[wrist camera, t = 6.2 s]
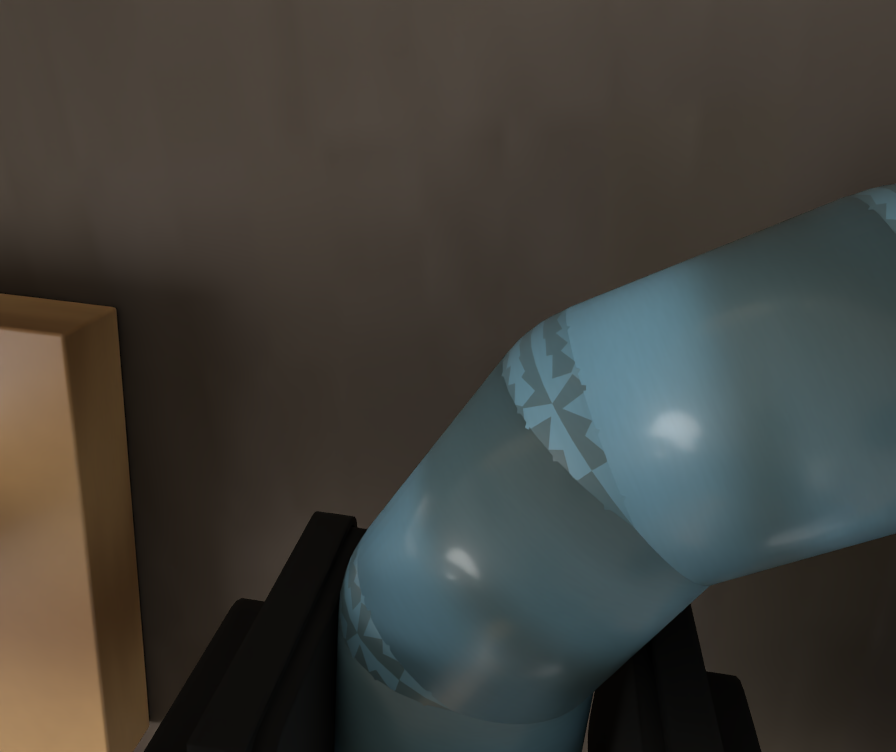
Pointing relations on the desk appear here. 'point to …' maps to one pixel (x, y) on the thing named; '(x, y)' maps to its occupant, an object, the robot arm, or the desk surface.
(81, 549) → the peg stand
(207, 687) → the robot arm
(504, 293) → the desk surface
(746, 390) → the ring
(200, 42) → the desk surface
